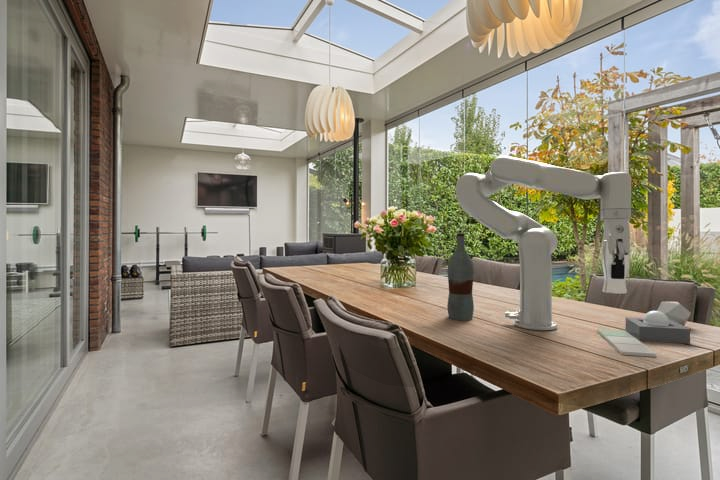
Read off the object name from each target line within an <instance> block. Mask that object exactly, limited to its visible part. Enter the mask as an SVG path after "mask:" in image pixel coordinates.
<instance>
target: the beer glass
mask: <svg viewBox="0 0 720 480" xmlns="http://www.w3.org/2000/svg"><path fill="white" fill-rule="evenodd" d="M600 252H601V253H600V255H601V256H600V257H601V258H600V259H601V265H602V271H603V276H604V277H603V278H604V279H603V286H602V292H603V293H607V294H618V295H619V294H621V295H622V294H623V295H624V294H627V293H628V289H627V285H626V283H627V282H626V279H627V274H628V273H627V272H628V269H629V266H630V255H631V253H630V254H629V255H626V254H628V253H625V254H624V261H625V264H624V265H625V276H624V279H612V278H611V265H613V263H612V255H611V254H609V249H608V241H604V240H603V239H602V243H601V251H600ZM624 252H625V250H624ZM614 253H617V254H618V250H617V246H616V248H615V249H614ZM615 259H616V256H615Z"/></svg>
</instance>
